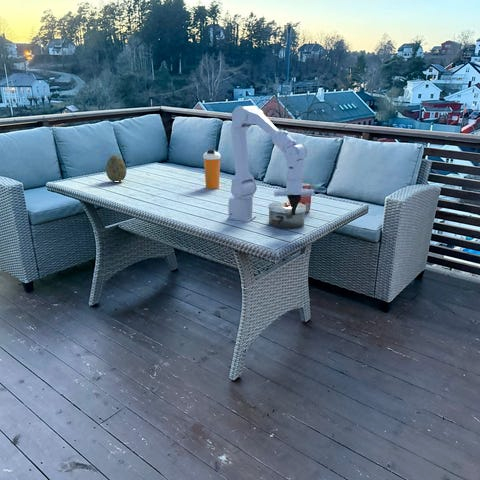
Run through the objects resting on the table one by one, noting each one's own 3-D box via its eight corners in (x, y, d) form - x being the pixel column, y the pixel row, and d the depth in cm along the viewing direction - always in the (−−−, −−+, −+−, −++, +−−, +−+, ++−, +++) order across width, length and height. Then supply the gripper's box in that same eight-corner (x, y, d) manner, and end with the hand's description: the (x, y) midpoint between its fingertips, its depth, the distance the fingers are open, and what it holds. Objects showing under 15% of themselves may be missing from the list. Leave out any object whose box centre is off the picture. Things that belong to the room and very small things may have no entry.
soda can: (299, 208, 184) (300, 181, 179) (313, 210, 180) (315, 183, 175) (290, 211, 178) (292, 184, 174) (304, 214, 174) (306, 186, 170)
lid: (269, 217, 150) (269, 212, 149) (267, 203, 168) (267, 198, 167) (309, 218, 150) (310, 212, 149) (303, 203, 168) (303, 198, 167)
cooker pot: (257, 229, 156) (258, 214, 154) (276, 216, 172) (277, 202, 170) (292, 235, 150) (293, 219, 148) (308, 221, 166) (309, 206, 164)
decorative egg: (124, 184, 224) (121, 156, 218) (104, 184, 224) (101, 156, 218) (129, 180, 234) (127, 153, 228) (110, 180, 234) (107, 153, 228)
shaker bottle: (221, 185, 223) (220, 148, 215) (220, 189, 214) (220, 150, 207) (204, 185, 222) (203, 148, 215) (203, 189, 214) (202, 150, 207)
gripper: (276, 181, 144) (275, 218, 148) (317, 180, 145) (315, 217, 150) (273, 177, 150) (272, 212, 155) (312, 176, 152) (310, 211, 156)
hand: (293, 214), depth 153 cm, fingers closed, pressing on lid
